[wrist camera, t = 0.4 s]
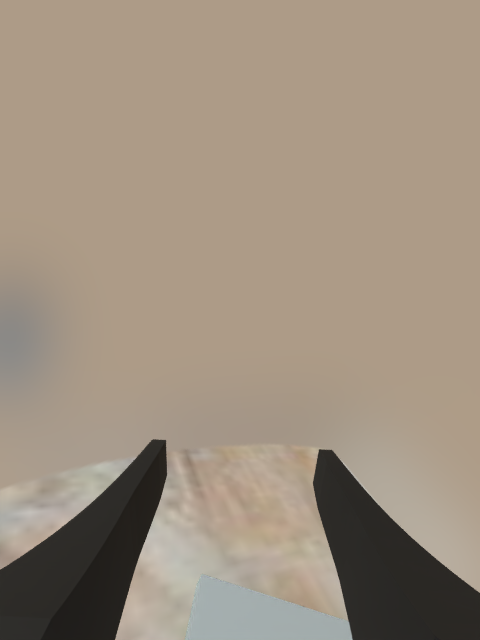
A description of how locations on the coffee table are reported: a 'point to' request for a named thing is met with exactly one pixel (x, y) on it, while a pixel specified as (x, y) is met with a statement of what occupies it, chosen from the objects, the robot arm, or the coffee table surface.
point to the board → (256, 616)
